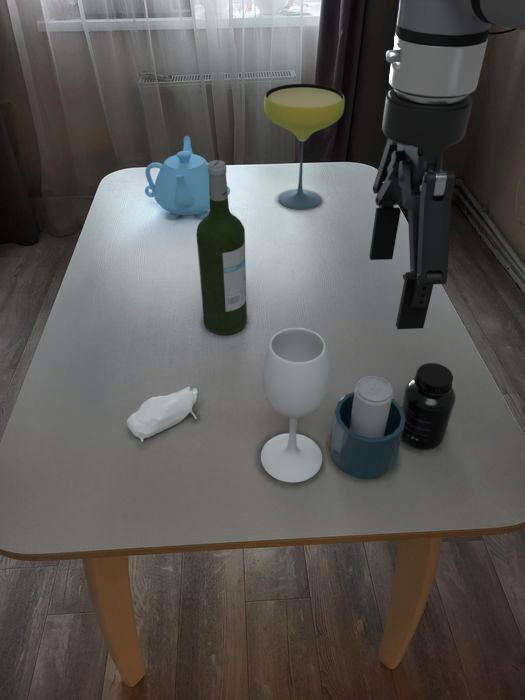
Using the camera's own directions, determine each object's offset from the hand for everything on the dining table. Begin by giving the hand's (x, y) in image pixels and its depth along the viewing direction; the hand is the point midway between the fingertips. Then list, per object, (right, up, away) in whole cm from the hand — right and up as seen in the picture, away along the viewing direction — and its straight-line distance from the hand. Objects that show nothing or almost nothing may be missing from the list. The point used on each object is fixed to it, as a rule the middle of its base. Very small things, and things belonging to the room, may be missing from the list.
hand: (393, 289), depth 63 cm
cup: (-1, -21, +16) cm, 27 cm away
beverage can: (-1, -21, +16) cm, 26 cm away
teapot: (-33, +28, +74) cm, 85 cm away
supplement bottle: (+8, -19, +19) cm, 28 cm away
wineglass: (-11, -22, +16) cm, 29 cm away
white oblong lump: (-30, -18, +20) cm, 40 cm away
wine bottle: (-22, -2, +39) cm, 45 cm away
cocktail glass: (-6, +31, +77) cm, 83 cm away
